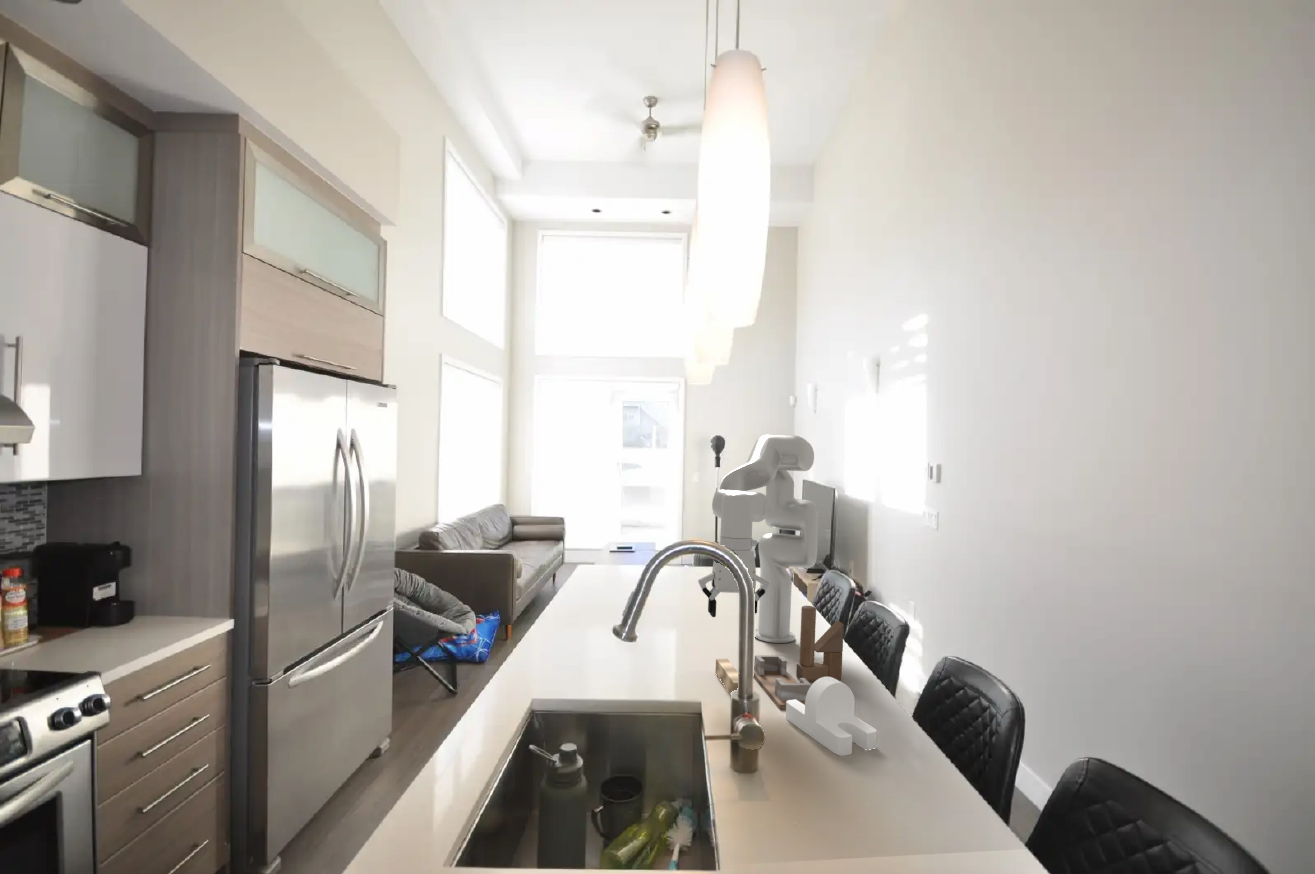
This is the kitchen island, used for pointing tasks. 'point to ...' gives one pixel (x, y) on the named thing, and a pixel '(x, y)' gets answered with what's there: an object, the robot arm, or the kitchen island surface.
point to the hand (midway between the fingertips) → (732, 616)
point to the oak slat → (727, 674)
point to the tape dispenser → (831, 717)
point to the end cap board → (779, 680)
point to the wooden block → (819, 648)
